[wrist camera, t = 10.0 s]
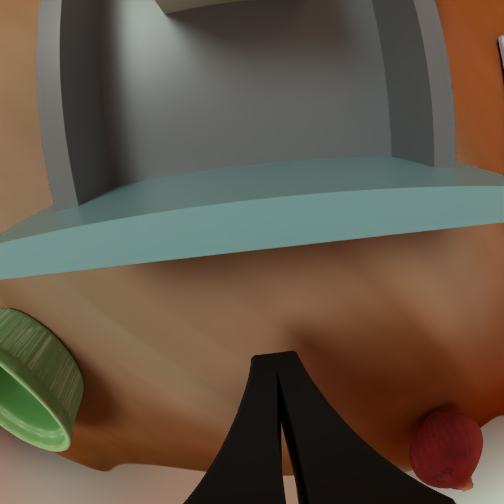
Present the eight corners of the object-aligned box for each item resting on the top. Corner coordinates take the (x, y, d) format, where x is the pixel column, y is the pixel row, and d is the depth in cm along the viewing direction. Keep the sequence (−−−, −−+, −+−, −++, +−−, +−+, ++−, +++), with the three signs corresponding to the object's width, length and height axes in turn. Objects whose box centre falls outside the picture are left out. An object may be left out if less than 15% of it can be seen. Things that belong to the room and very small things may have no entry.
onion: (403, 443, 19) (430, 515, 12) (391, 420, 17) (426, 508, 10) (459, 410, 18) (495, 475, 11) (458, 379, 16) (507, 457, 9)
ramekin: (27, 398, 16) (6, 437, 12) (-32, 301, 13) (-68, 337, 9) (116, 409, 16) (98, 463, 12) (49, 291, 12) (3, 343, 8)
